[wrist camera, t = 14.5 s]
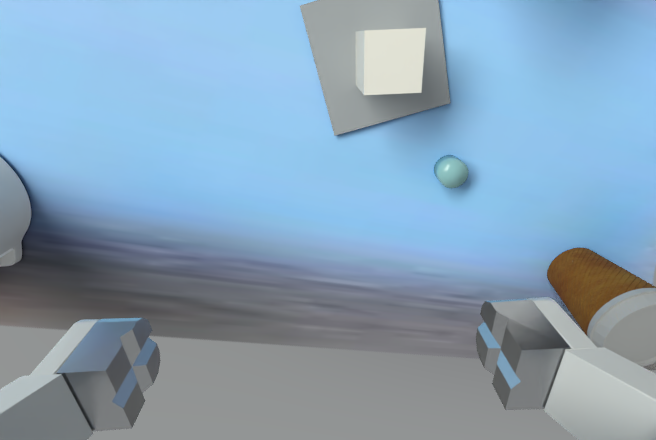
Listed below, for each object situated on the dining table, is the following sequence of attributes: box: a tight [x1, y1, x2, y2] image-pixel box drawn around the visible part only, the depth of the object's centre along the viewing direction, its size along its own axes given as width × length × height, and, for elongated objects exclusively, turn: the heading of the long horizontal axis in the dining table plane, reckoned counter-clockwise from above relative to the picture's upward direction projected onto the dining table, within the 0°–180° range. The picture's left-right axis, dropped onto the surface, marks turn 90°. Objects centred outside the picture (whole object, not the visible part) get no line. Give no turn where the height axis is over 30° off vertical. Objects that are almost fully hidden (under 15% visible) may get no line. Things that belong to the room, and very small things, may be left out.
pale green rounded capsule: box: [434, 155, 468, 188], centre depth 39 cm, size 3×3×2 cm
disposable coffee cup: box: [547, 248, 656, 367], centre depth 41 cm, size 10×10×12 cm
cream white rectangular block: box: [356, 28, 426, 95], centre depth 31 cm, size 5×5×7 cm
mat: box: [300, 0, 450, 135], centre depth 34 cm, size 12×12×1 cm
